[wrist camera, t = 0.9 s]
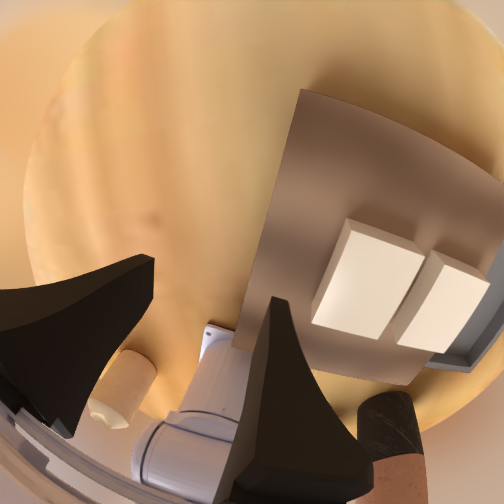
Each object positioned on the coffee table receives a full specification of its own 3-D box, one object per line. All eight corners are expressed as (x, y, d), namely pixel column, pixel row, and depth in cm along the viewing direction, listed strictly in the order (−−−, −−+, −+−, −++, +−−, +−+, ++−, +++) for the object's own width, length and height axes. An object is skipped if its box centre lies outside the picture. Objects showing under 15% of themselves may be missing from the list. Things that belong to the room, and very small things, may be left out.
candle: (152, 355, 29) (113, 419, 20) (161, 383, 32) (129, 442, 23) (115, 344, 30) (74, 399, 21) (126, 371, 32) (92, 424, 24)
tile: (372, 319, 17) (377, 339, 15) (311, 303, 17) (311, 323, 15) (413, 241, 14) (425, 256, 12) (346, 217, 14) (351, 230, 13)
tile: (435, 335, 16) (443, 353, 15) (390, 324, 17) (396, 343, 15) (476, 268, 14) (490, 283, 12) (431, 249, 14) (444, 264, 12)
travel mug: (372, 387, 25) (376, 559, 7) (424, 391, 24) (445, 539, 7) (345, 420, 29) (335, 561, 11) (393, 423, 28) (398, 551, 10)
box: (463, 359, 22) (469, 373, 20) (406, 348, 22) (411, 364, 20) (538, 232, 14) (550, 241, 12) (488, 195, 15) (503, 203, 13)
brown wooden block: (399, 355, 23) (407, 385, 19) (242, 315, 24) (230, 346, 20) (490, 182, 14) (519, 196, 11) (301, 97, 15) (300, 88, 12)
